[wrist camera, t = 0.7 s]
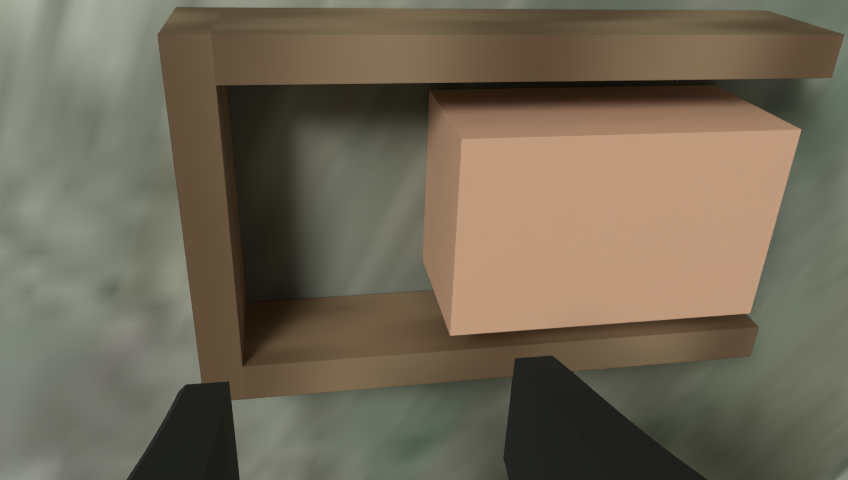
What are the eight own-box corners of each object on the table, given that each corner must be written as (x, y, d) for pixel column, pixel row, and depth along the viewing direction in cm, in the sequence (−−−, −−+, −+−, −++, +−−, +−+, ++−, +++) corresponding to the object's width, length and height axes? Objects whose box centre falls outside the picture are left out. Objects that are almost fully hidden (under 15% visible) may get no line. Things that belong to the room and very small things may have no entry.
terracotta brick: (711, 83, 20) (801, 129, 17) (677, 242, 23) (750, 313, 19) (427, 87, 19) (461, 139, 15) (421, 257, 21) (450, 335, 18)
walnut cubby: (767, 10, 19) (844, 34, 17) (697, 300, 23) (750, 356, 21) (175, 7, 17) (157, 35, 14) (213, 334, 21) (204, 402, 18)
